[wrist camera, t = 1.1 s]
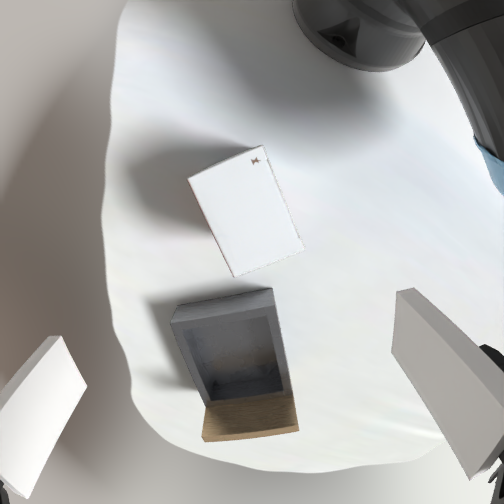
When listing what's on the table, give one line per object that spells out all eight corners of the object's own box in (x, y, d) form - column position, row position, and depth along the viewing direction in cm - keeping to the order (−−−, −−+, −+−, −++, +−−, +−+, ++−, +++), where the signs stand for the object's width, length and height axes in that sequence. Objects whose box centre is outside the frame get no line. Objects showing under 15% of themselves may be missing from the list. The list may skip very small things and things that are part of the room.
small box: (206, 169, 29) (183, 176, 19) (258, 147, 28) (262, 141, 18) (237, 240, 31) (232, 281, 21) (288, 220, 31) (306, 251, 20)
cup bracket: (272, 287, 33) (279, 332, 24) (290, 380, 37) (299, 430, 29) (177, 305, 33) (157, 351, 25) (211, 392, 38) (204, 442, 29)
